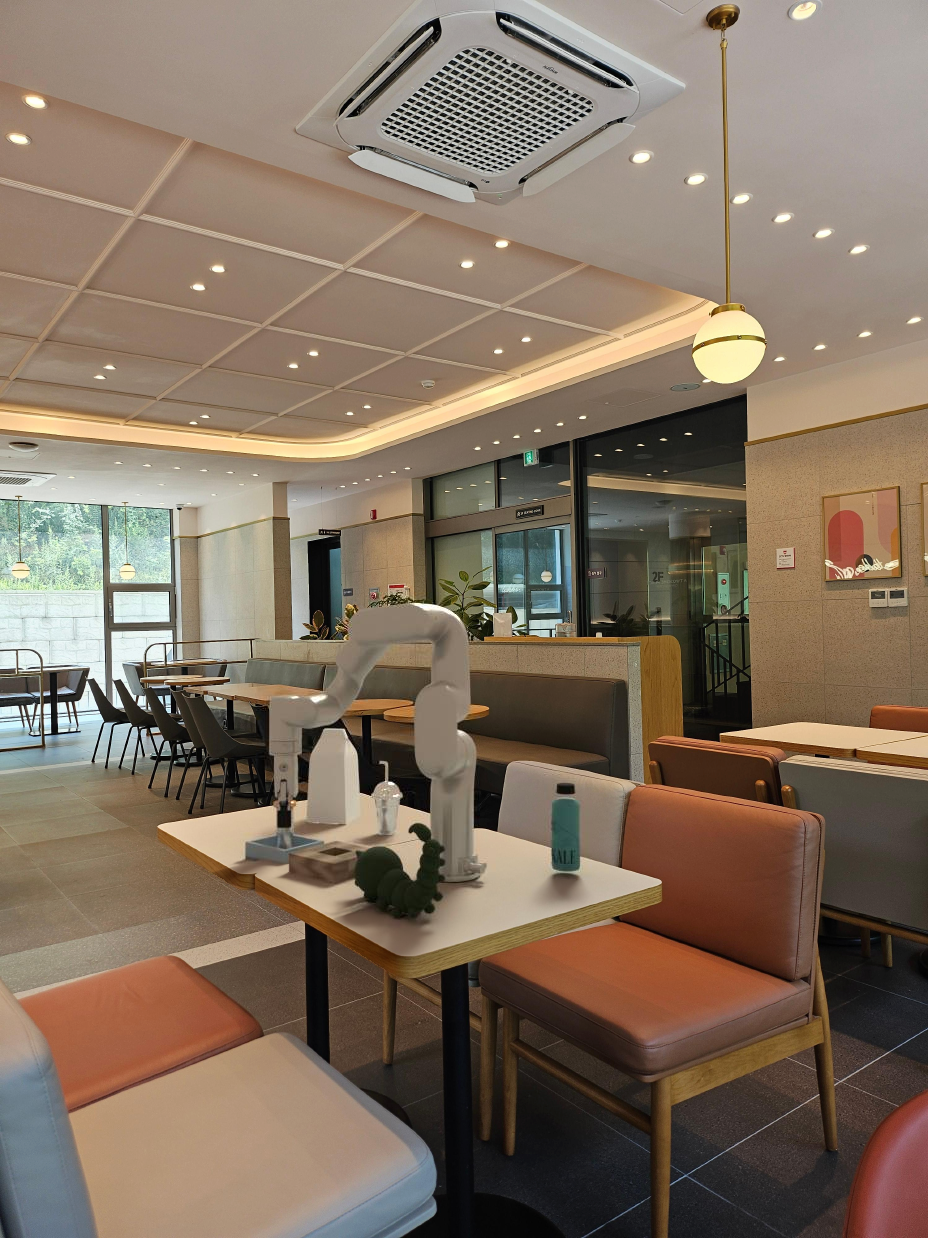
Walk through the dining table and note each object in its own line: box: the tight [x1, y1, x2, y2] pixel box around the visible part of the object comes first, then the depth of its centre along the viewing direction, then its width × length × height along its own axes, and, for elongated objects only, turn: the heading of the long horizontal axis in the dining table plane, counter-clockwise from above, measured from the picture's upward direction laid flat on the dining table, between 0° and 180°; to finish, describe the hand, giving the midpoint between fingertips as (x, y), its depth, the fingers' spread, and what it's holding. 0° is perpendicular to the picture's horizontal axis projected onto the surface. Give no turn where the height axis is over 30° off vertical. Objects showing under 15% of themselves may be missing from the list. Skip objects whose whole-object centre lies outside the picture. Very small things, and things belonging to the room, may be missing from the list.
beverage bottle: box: [550, 782, 581, 873], centre depth 181 cm, size 6×7×20 cm
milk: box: [305, 728, 362, 825], centre depth 238 cm, size 12×12×26 cm
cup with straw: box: [370, 760, 404, 836], centre depth 220 cm, size 8×9×20 cm
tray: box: [244, 834, 325, 865], centre depth 195 cm, size 14×12×4 cm
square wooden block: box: [288, 840, 370, 884], centre depth 181 cm, size 14×14×5 cm
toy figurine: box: [354, 822, 445, 919], centre depth 158 cm, size 9×19×25 cm
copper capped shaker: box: [273, 799, 297, 850], centre depth 195 cm, size 5×5×11 cm
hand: (285, 824), depth 195 cm, fingers closed on copper capped shaker, 4 cm apart
